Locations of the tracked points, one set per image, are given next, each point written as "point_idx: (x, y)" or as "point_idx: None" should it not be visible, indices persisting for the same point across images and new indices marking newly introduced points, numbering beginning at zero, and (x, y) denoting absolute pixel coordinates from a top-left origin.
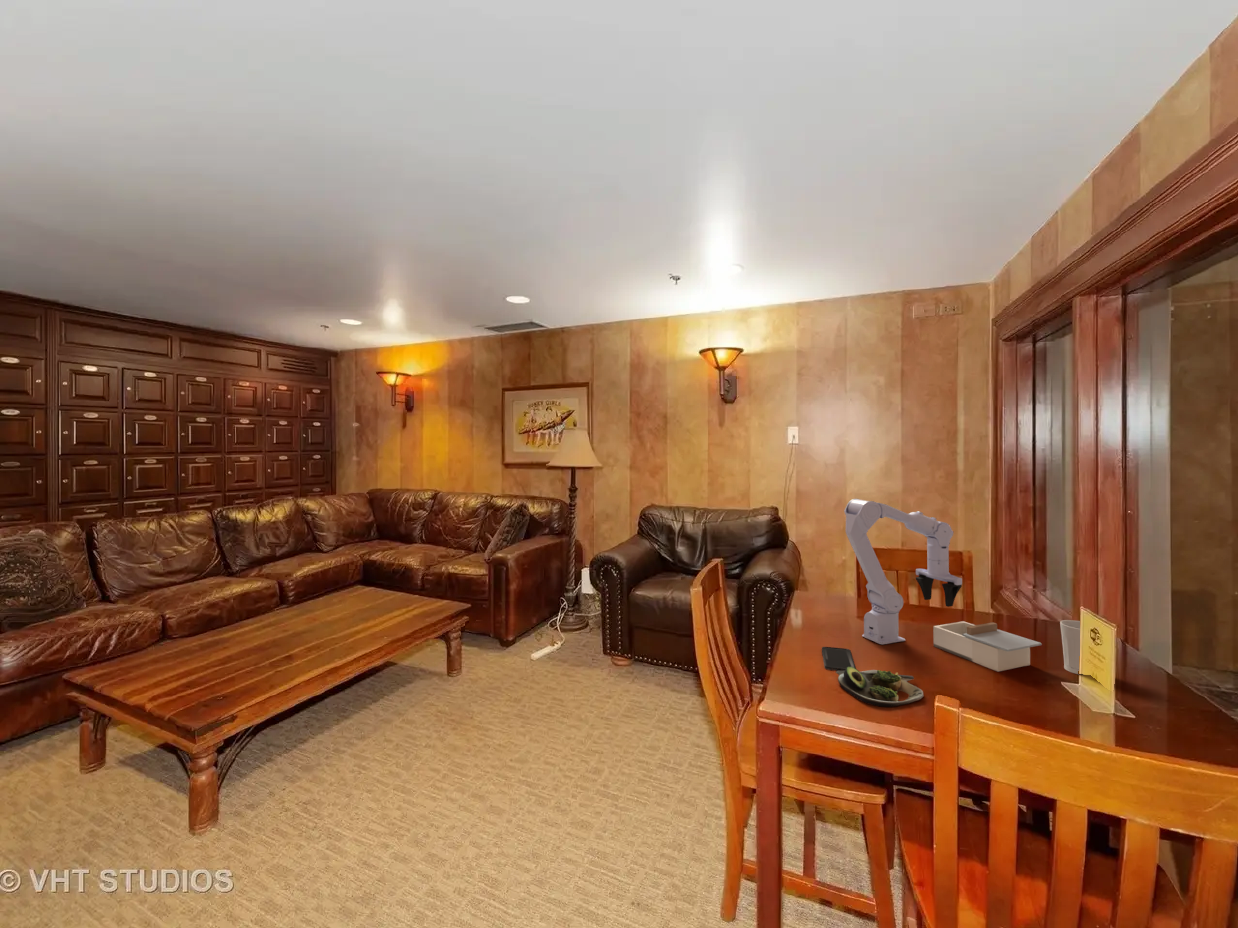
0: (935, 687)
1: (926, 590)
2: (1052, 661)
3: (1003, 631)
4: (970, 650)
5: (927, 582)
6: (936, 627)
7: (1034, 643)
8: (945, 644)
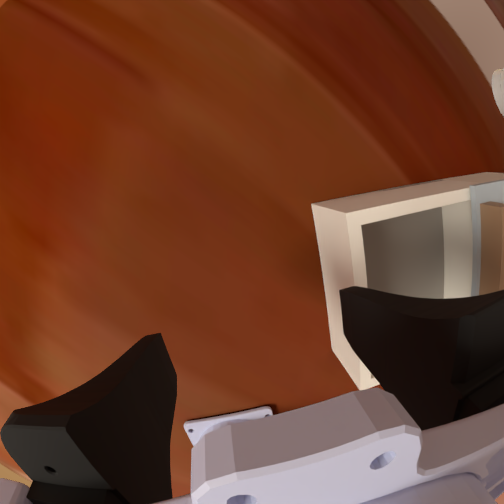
0: None
1: (161, 416)
2: (476, 93)
3: (497, 185)
4: None
5: (141, 462)
6: (373, 386)
7: None
8: None
